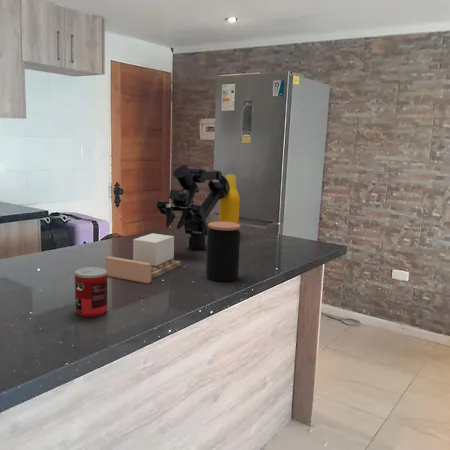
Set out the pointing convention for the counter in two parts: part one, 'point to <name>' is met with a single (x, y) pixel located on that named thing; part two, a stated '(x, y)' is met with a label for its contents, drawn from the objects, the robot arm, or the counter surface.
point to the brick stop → (128, 269)
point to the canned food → (91, 291)
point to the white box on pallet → (153, 249)
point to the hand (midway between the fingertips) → (172, 227)
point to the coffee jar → (223, 251)
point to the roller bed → (163, 268)
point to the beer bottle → (230, 203)
